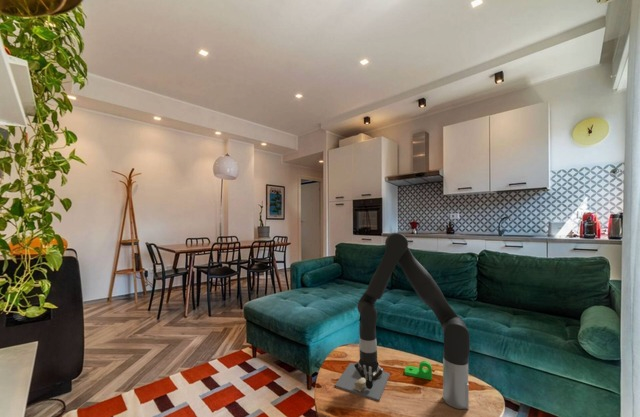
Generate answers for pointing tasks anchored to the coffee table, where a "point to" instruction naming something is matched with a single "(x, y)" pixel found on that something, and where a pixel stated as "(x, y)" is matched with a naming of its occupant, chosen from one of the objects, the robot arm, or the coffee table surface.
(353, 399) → the coffee table surface
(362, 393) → the base plate
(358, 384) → the latch bar
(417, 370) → the mechanical part
